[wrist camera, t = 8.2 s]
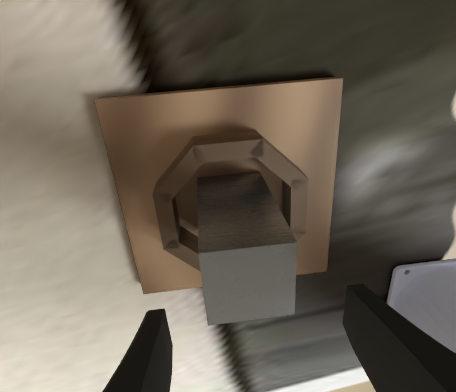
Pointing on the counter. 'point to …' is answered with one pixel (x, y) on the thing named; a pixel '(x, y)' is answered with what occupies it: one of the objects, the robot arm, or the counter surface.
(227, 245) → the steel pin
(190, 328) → the counter surface
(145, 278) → the holder board
